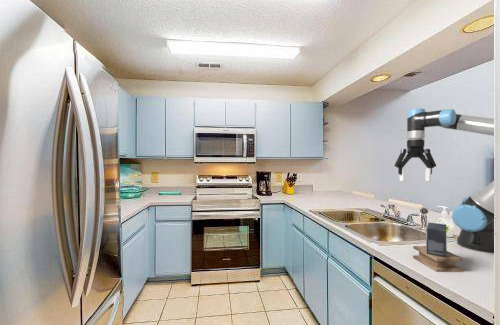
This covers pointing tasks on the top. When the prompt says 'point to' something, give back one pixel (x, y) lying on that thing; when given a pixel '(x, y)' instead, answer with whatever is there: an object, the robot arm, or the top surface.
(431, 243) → the small box
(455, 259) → the stand
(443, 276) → the top surface
